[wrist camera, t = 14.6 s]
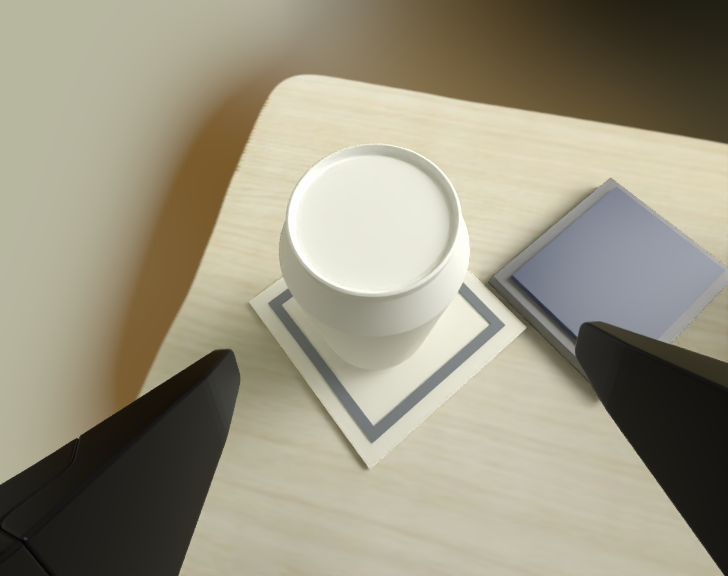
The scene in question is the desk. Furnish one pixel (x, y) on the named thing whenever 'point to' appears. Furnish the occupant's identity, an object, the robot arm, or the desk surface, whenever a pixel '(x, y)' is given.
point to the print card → (399, 383)
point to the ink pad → (611, 273)
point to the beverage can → (374, 251)
